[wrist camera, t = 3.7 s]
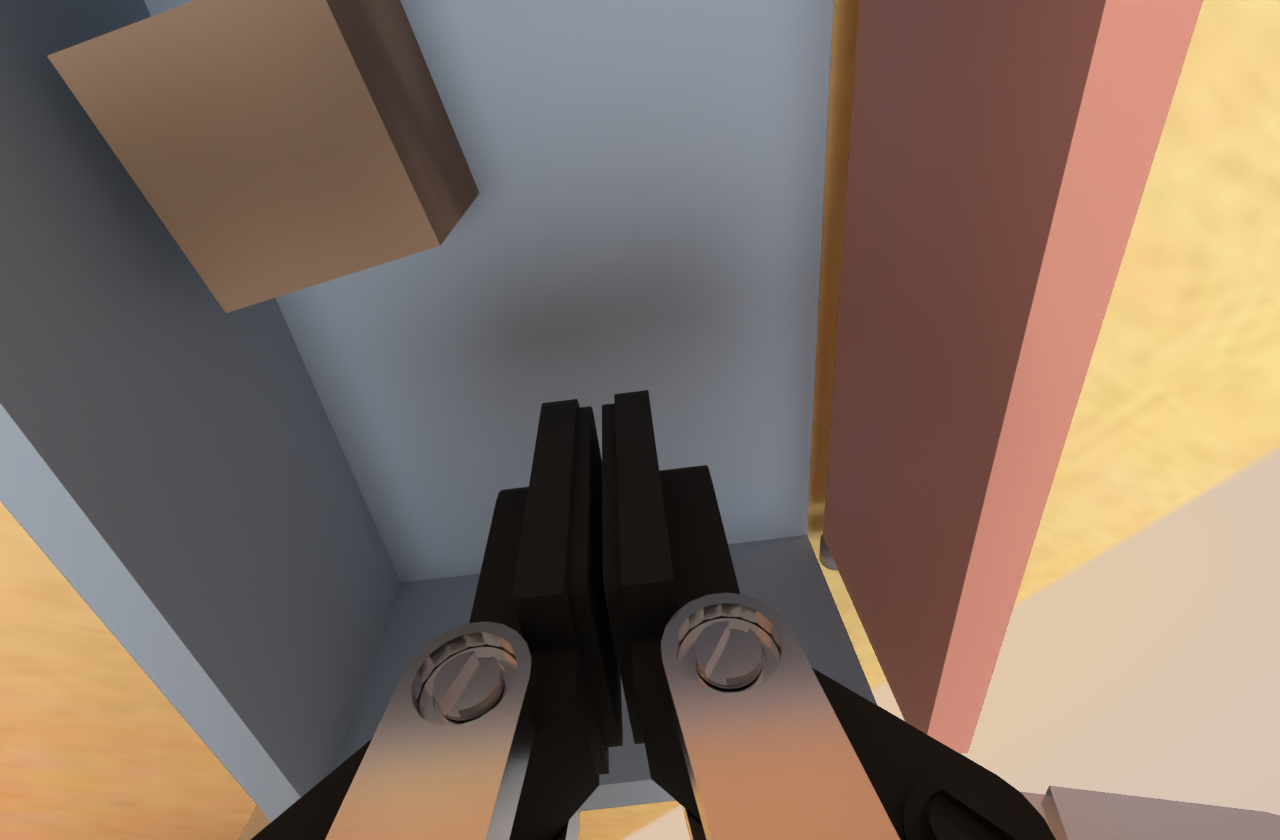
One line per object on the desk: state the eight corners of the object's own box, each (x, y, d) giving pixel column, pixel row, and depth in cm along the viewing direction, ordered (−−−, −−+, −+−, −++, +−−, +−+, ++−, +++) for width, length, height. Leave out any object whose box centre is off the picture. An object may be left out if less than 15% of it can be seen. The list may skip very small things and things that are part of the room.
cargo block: (479, 193, 14) (440, 245, 10) (315, 245, 14) (226, 313, 11) (392, -21, 12) (306, -42, 8) (202, 48, 12) (46, 56, 9)
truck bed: (838, 531, 21) (952, 768, 14) (389, 584, 21) (290, 844, 14) (900, -193, 12) (1333, -517, 5) (81, -88, 12) (-638, -254, 5)
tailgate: (867, 530, 19) (986, 750, 13) (822, 535, 19) (921, 758, 13) (945, -127, 11) (1347, -311, 5) (866, -117, 11) (1176, -288, 5)
